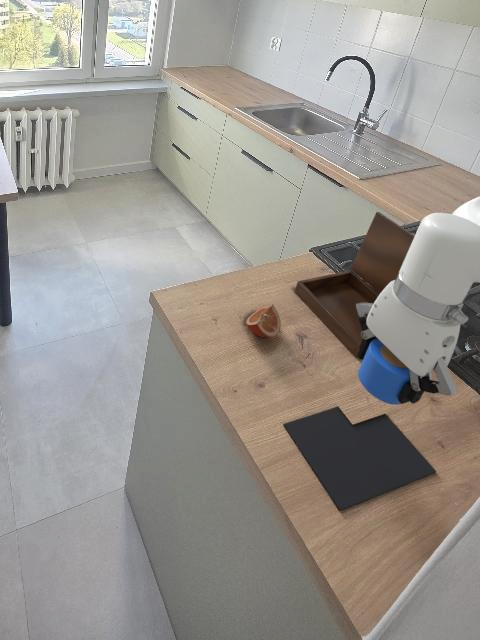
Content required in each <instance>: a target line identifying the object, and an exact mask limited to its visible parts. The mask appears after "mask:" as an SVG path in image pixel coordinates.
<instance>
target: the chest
mask: <svg viewBox="0 0 480 640" xmlns="http://www.w3.org/2000/svg"><path fill="white" fill-rule="evenodd" d="M294 294H295V295H296V296H297V297H298V298H299V299H300V300H301V301H302V302H303V303H304V304H305V305H306V306H307V307H308V309H309V310H310V311H311V312H312V313H313V314H314V315H315V316H316V317H317V318H318V319H319V320H320V321H321V323H322V324H323V325H324V326H325V327H326V328H327V329H328V330H329V331H330V332H331V333H332V334H333V335H334V337H336V339H337V340H338V341H339V342H340V343H341V344H342V345H343V347H344V348H345V349H347V351H349V353H350V354H351V355H352V356H353V357H354V358H355V359H356V358H358V357H357V355H358V353H359V350H360V348H359V346H360V344H361V342H362V340H363V338H362V336H361V332H362V328H361V325H360V322H359V318H360V316H359V315H358V312H357V308H356V304H358V303H362V302H364V303H373V304H374V302H375V301H376V299H377V298H378V296H379V295H380V293H378V292H377V291H376V290H375V289H374V288H373V287H371V286H370V285H369V284H368V283H367V282H366V281H364V280H363V279H362V278H361V277H360V276H359V275H357V274H356V273H355V272H354V271H353V270H352V269H350V270H345V271H340V272H335V273H330V274H326V275H320V276H316V277H312V278H311V277H310V278H306V279H302V280H297V282H296V286H295V289H294Z"/></svg>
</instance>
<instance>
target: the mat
mask: <svg viewBox="0 0 480 640" xmlns="http://www.w3.org/2000/svg"><path fill="white" fill-rule="evenodd" d="M283 428H285V430H286V432H287V433H288V434H289V436H290V438H291V439H292V441H293V442H294V444H295V445H296V448H297V449H298V450H299V451H300V453H301V454H302V456H303V458H304V459H305V461H306V462H307V464H308V465H309V467H310V469H311V470H312V471H313V473H314V475H315V476H316V477H317V479H318V481H319V482H320V483H321V486H322V487H323V488H324V490H325V491H326V493H327V495H328V496H329V497H330V499H331V501H332V502H333V504H334V505H335V507H336V508H337V510H338V511H339V512H342V511H345V510H347V509H349V508H352V507H354V506H356V505H359V504H362V503H365V502H367V501H370V500H372V499H374V498H377V497H379V496H381V495H385V494H386V493H389V492H391V491H394V490H396V489H400V488H401V487H404V486H406V485H409V484H412V483H414V482H416V481H419V480H421V479H424V478H426V477H429V476H431V475H434V474H436V473H437V471H438V470H436V469H435V467H433V466H432V465H431V463H430V462H429V460H427V458H426V457H425V456H424V455H423V454H422V453H421V452H420V451H419V450H418V448H417V447H416V446H415V445H414V444H413V443H412V441H410V439H409V438H407V436H406V435H405V434H404V432H403V431H401V429H400V428H399V427H398V426H397V425H396V423H395V422H394V421H393V420H392V418H390V417H389V416H388V415H387V413H382V414H380V415H376V416H373V417H371V418H367V419H365V420H362V421H359V422H356V423H352V421H351V420H350V419H349V418H348V416H346V414H345V412H344V411H343V410H342V409H341V408H340V406H335V407H331V408H328V409H326V410H323V411H319V412H316V413H313V414H310V415H307V416H303V417H301V418H298V419H294V420H291V421H289V422H288V421H287V422H285V423H283Z"/></svg>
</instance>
